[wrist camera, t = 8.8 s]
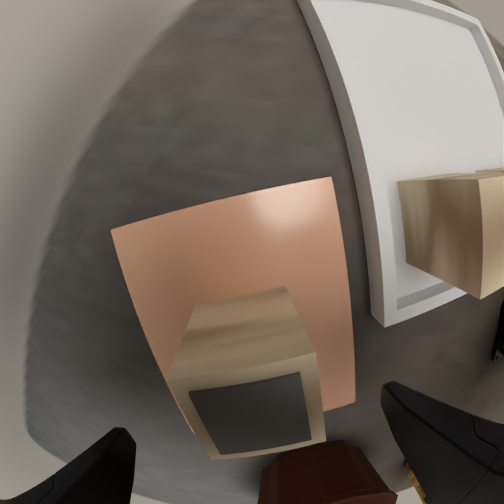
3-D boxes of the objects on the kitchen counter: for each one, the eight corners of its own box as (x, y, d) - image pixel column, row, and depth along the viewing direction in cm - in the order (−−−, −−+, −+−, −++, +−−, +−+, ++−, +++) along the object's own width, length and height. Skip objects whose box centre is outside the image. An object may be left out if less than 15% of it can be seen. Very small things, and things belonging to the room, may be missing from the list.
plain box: (459, 245, 13) (529, 269, 7) (406, 263, 13) (479, 299, 7) (452, 173, 12) (527, 172, 7) (396, 181, 12) (478, 179, 7)
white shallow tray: (517, 252, 14) (531, 257, 13) (370, 314, 15) (384, 327, 13) (466, 26, 10) (478, 19, 8) (293, -6, 10) (298, -22, 9)
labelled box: (299, 360, 14) (327, 443, 8) (220, 376, 14) (211, 463, 8) (285, 285, 13) (316, 354, 7) (195, 305, 13) (165, 382, 7)
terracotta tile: (351, 394, 16) (355, 402, 15) (194, 425, 16) (193, 433, 15) (326, 177, 13) (331, 176, 12) (117, 227, 13) (110, 230, 12)
